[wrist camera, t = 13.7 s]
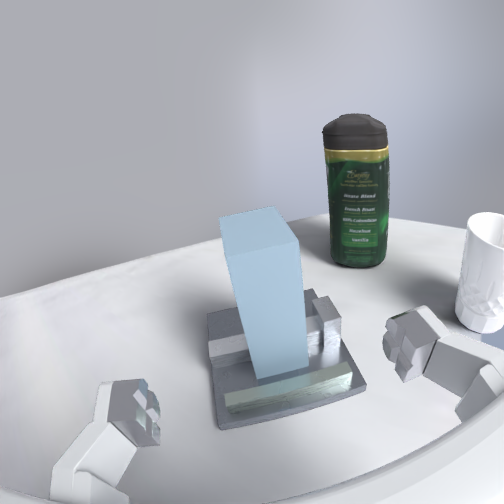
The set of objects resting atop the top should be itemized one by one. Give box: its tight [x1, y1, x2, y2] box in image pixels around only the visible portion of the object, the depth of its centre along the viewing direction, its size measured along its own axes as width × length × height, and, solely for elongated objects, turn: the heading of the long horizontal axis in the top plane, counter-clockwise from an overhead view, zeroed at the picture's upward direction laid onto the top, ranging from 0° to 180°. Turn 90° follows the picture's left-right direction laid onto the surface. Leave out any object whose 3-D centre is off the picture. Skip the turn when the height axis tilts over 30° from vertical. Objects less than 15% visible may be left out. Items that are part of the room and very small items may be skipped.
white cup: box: [455, 213, 504, 334], centre depth 22 cm, size 8×8×10 cm
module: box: [219, 206, 309, 379], centre depth 24 cm, size 4×7×12 cm, turn 9°
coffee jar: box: [322, 114, 390, 267], centre depth 35 cm, size 10×8×19 cm
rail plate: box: [207, 288, 367, 430], centre depth 26 cm, size 12×14×4 cm
